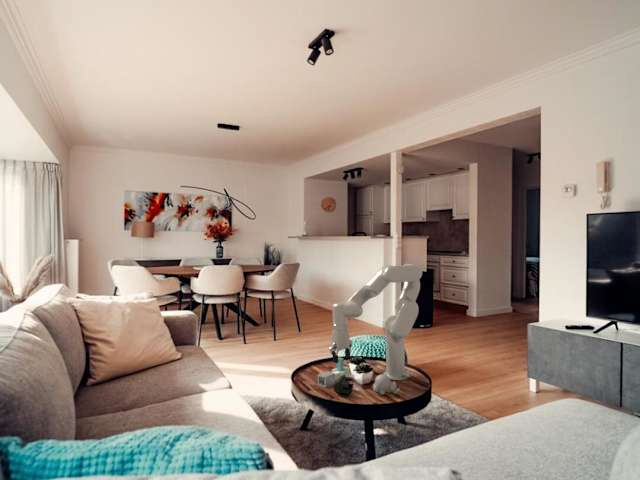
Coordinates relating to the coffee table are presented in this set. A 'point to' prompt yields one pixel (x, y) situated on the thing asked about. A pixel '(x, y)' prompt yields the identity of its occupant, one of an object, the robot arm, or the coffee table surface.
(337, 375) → the slip tube
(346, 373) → the socket block
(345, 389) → the end cap
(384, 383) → the chubby cartoon animal
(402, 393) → the coffee table surface
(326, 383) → the sleeve
